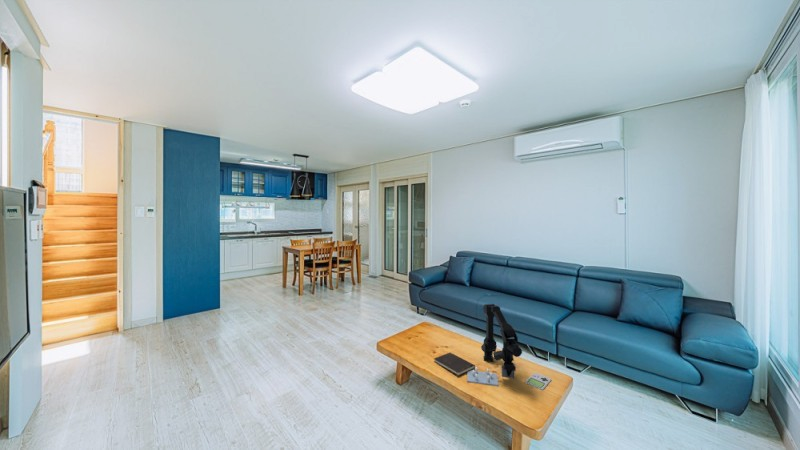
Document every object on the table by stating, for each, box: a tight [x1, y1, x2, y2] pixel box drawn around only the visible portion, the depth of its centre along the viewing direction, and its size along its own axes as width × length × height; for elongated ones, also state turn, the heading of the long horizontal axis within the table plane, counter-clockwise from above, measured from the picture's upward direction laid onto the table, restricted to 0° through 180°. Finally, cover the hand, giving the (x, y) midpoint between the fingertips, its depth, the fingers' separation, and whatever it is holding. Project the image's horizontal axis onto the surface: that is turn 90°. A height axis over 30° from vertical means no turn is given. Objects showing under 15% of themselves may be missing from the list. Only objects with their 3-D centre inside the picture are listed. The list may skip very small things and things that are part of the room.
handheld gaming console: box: [525, 372, 552, 391], centre depth 169 cm, size 10×2×15 cm
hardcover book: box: [433, 352, 476, 377], centre depth 187 cm, size 16×23×2 cm
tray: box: [466, 366, 499, 387], centre depth 172 cm, size 12×18×4 cm, turn 75°
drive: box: [500, 364, 516, 379], centre depth 169 cm, size 4×7×5 cm, turn 75°
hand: (507, 373), depth 169 cm, fingers closed on drive, 4 cm apart
